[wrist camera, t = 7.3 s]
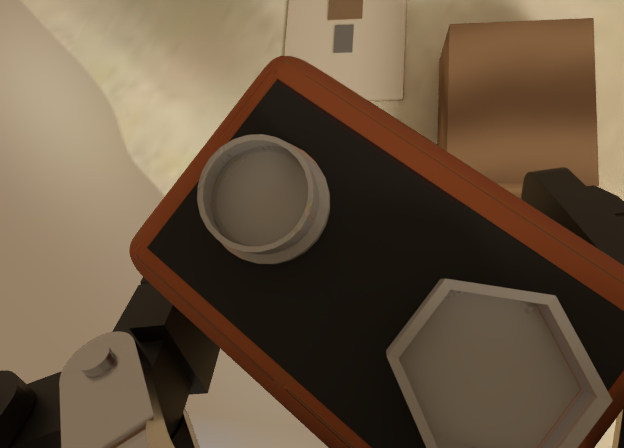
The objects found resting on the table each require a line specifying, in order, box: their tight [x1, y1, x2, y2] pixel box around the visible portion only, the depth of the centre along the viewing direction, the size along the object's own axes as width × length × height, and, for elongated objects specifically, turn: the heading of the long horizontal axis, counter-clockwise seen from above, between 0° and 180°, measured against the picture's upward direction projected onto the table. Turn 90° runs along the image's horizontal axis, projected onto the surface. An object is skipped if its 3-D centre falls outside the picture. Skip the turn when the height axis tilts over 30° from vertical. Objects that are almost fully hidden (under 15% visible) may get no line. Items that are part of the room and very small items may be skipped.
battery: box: [130, 56, 624, 448], centre depth 9 cm, size 4×7×10 cm, turn 52°
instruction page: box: [284, 0, 407, 101], centre depth 29 cm, size 12×9×1 cm
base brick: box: [438, 18, 599, 199], centre depth 25 cm, size 10×8×4 cm
